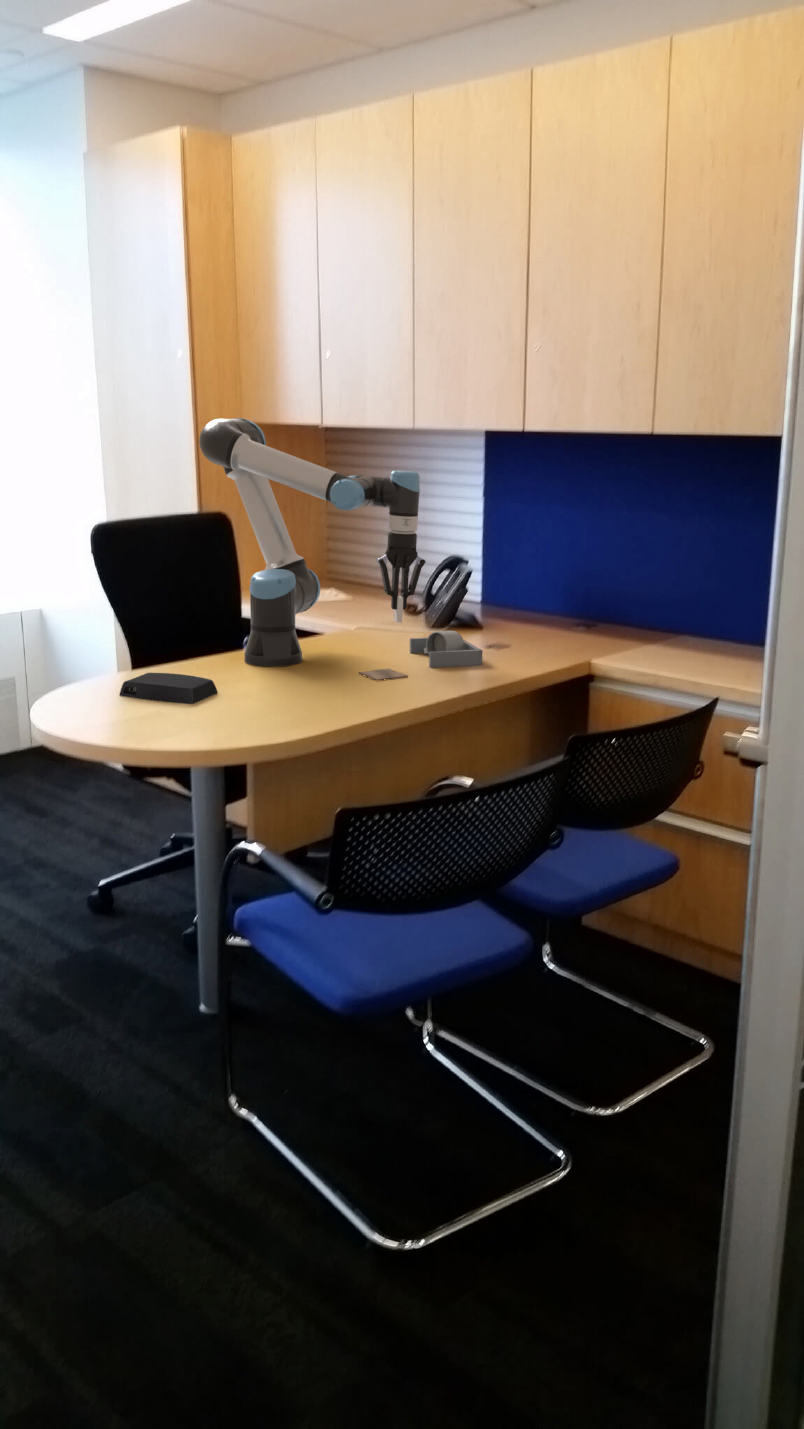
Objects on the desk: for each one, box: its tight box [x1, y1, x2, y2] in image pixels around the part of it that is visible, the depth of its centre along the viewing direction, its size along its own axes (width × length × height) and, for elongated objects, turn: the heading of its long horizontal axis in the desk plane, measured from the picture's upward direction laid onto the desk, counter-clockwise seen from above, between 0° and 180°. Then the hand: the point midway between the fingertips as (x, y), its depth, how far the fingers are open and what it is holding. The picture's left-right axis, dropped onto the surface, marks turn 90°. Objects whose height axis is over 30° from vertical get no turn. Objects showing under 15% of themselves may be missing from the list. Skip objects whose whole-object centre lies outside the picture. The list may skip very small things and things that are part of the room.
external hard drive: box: [119, 672, 219, 705], centre depth 265 cm, size 13×19×4 cm
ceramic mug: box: [423, 630, 464, 656], centre depth 310 cm, size 11×8×8 cm
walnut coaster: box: [357, 668, 408, 681], centre depth 288 cm, size 9×9×1 cm
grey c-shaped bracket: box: [409, 637, 483, 668], centre depth 308 cm, size 14×19×4 cm
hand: (398, 621), depth 303 cm, fingers closed
